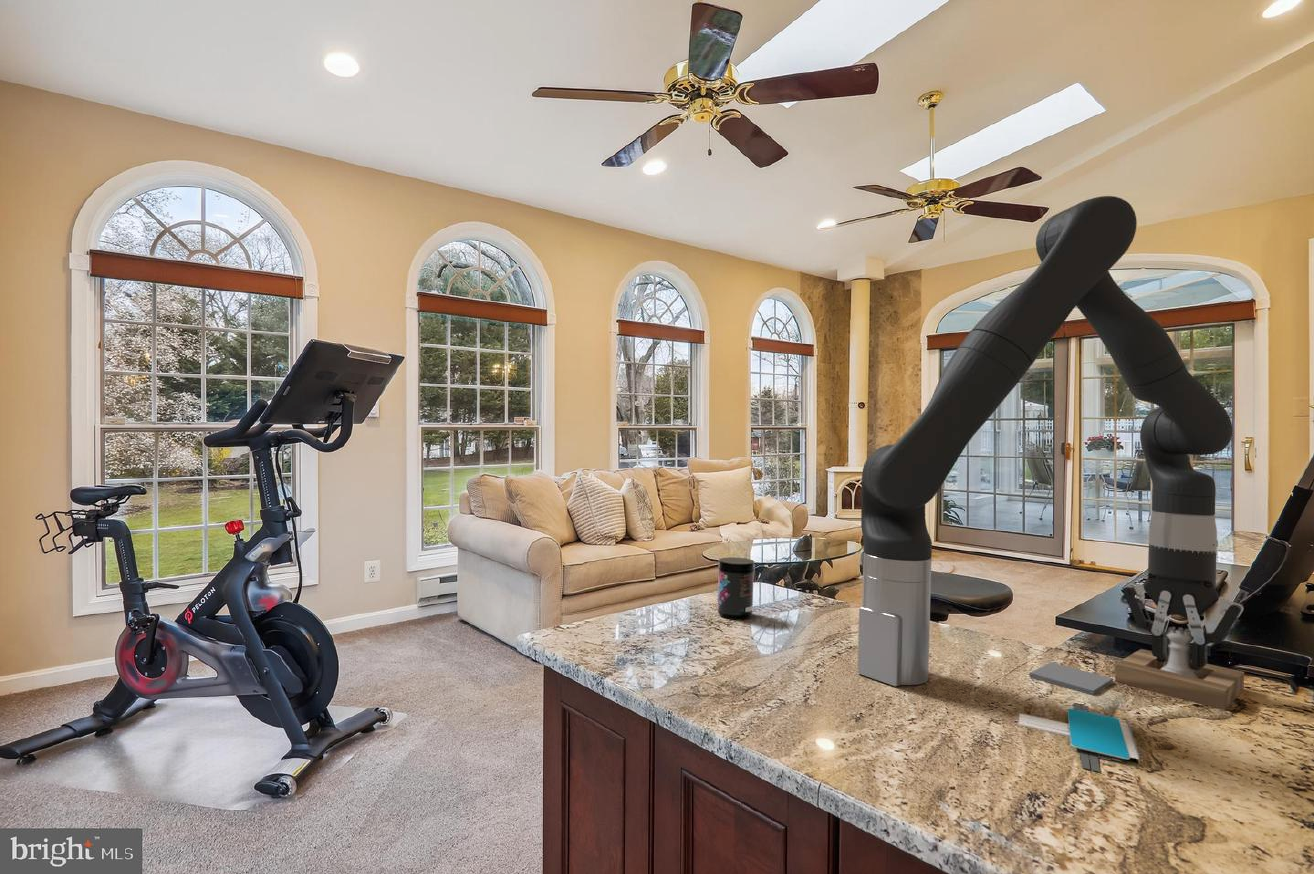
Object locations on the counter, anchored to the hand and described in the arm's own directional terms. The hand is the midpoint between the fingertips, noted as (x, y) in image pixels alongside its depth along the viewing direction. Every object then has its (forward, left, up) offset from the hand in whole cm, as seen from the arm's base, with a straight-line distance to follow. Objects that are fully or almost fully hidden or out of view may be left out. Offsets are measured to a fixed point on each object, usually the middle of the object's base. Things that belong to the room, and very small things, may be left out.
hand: (1178, 664), depth 91 cm
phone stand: (-30, +3, -4) cm, 30 cm away
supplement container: (-28, +61, -3) cm, 67 cm away
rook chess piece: (0, 0, -3) cm, 3 cm away
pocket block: (0, 0, -3) cm, 3 cm away
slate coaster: (-11, +10, -3) cm, 15 cm away
